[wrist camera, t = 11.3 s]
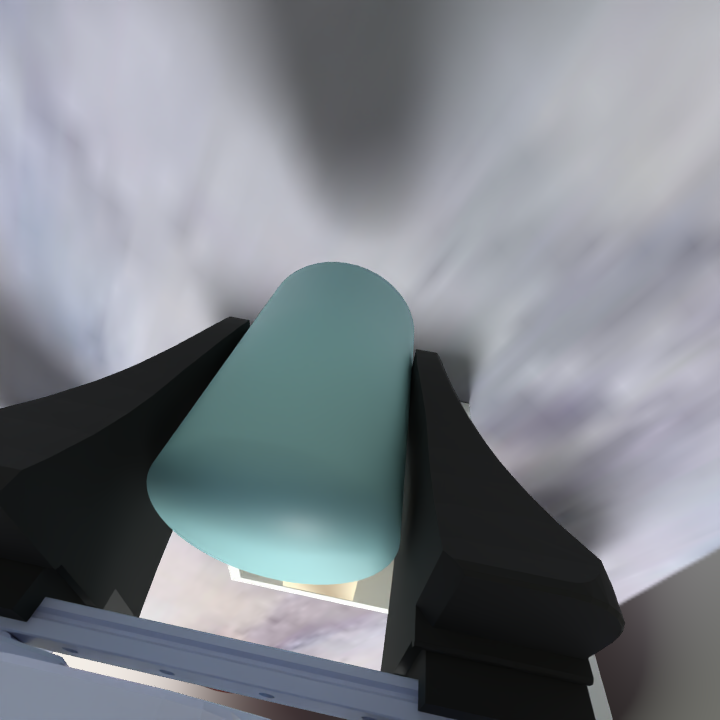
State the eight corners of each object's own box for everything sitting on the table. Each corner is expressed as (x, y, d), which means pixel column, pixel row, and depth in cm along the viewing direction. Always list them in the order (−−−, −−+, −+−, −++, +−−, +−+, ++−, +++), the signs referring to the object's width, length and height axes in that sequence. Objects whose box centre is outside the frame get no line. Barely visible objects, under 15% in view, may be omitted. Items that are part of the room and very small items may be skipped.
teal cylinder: (271, 374, 15) (174, 558, 9) (265, 249, 12) (113, 412, 6) (400, 398, 14) (380, 601, 9) (428, 276, 11) (426, 472, 6)
